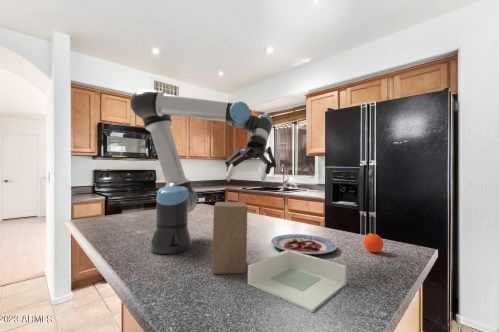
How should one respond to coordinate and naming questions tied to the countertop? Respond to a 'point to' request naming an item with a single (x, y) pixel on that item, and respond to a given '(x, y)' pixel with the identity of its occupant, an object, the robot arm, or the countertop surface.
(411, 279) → the countertop surface
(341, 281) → the corner arena
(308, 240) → the ceramic plate
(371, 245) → the clementine
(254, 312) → the countertop surface
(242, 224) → the wooden block
